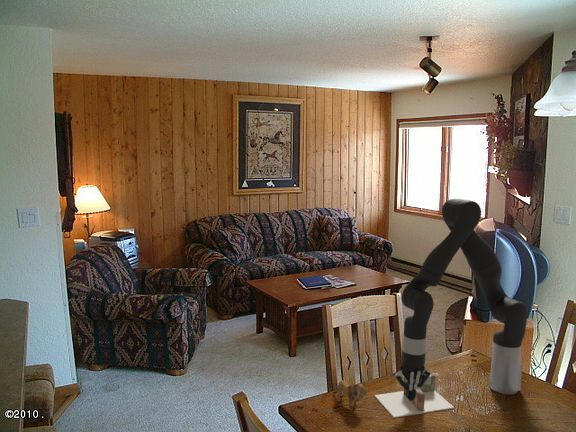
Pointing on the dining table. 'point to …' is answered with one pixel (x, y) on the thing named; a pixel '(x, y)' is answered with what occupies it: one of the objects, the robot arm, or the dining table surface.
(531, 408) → the dining table surface
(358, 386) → the lion figurine
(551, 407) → the dining table surface
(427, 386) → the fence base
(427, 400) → the card
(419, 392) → the fence panel
